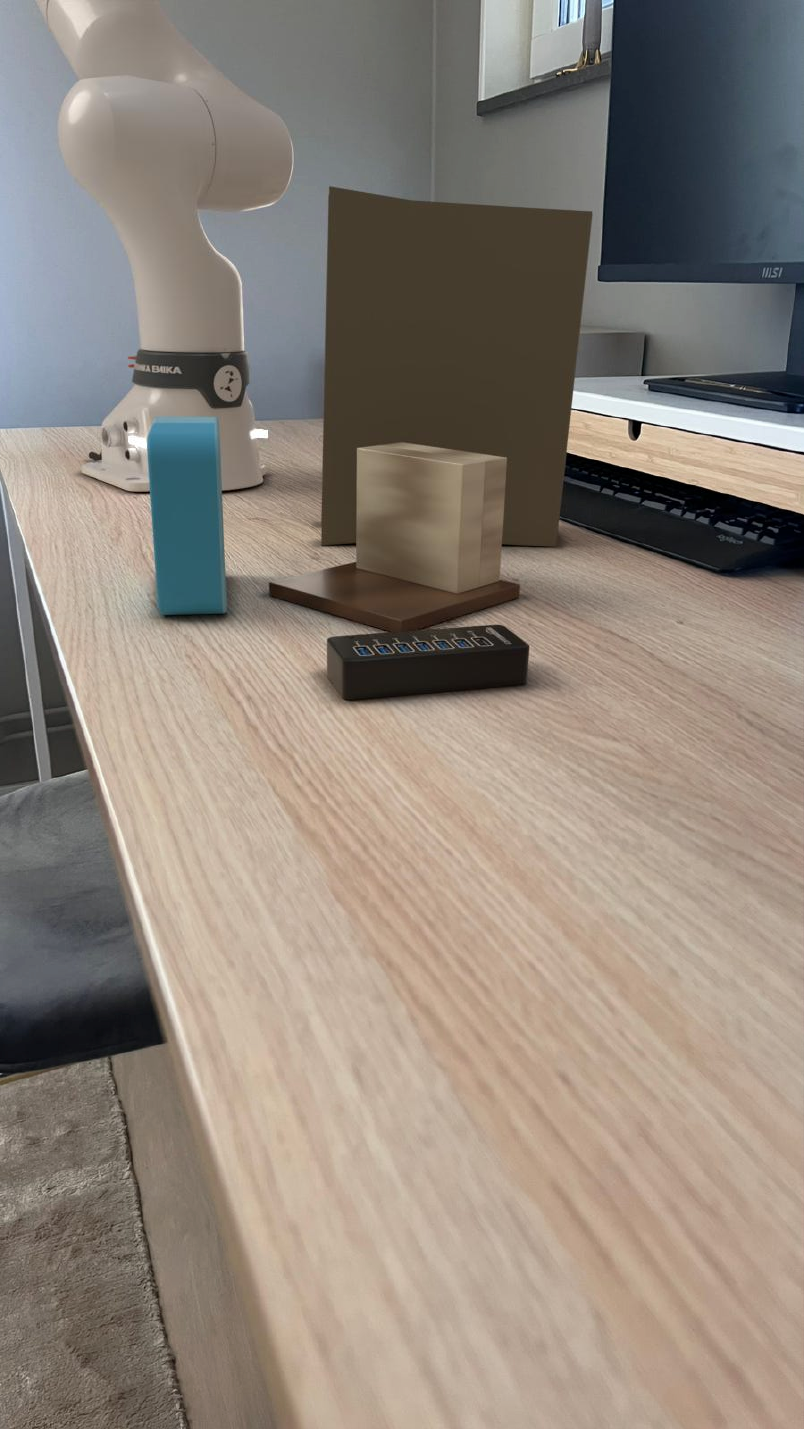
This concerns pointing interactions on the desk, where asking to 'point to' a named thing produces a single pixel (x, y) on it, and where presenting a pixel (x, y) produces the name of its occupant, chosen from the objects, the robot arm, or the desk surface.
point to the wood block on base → (416, 541)
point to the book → (452, 344)
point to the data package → (187, 515)
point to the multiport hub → (426, 661)
